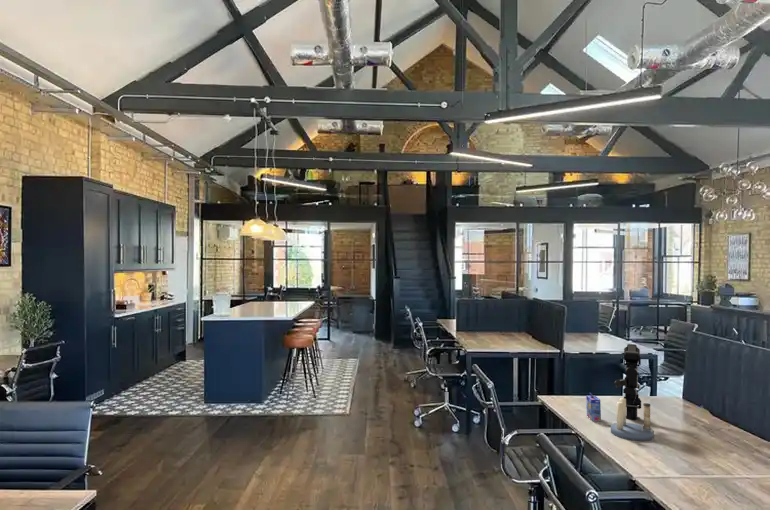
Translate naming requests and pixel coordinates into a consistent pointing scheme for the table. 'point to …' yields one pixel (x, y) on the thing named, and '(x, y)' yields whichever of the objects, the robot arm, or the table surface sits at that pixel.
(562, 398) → the table surface
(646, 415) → the hinged leg
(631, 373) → the robot arm
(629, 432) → the round peg stand
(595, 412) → the ink cartridge box
